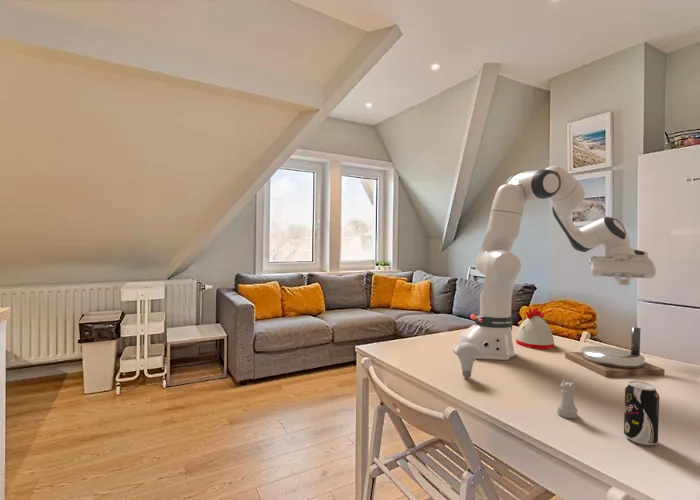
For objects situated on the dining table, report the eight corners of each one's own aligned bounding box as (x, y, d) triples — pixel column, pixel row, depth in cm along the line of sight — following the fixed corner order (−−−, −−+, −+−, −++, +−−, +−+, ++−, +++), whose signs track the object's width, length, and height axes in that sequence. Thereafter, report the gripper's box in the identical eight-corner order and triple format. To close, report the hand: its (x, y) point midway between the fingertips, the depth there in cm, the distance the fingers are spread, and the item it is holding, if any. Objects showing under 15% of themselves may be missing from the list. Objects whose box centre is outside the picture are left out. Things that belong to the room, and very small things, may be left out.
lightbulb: (477, 375, 116) (477, 340, 115) (477, 382, 110) (477, 346, 110) (456, 373, 118) (457, 338, 117) (455, 380, 112) (456, 344, 112)
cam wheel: (599, 367, 118) (600, 332, 118) (571, 350, 136) (572, 320, 135) (662, 369, 116) (663, 334, 116) (626, 352, 134) (627, 322, 134)
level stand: (605, 376, 116) (605, 369, 116) (565, 357, 135) (565, 351, 135) (664, 375, 117) (664, 368, 117) (616, 356, 136) (616, 350, 136)
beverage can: (616, 433, 81) (618, 379, 81) (641, 433, 82) (643, 379, 81) (638, 448, 76) (640, 390, 75) (665, 447, 76) (667, 389, 76)
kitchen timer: (509, 340, 157) (509, 305, 157) (536, 339, 160) (537, 304, 160) (532, 350, 144) (533, 311, 143) (562, 348, 147) (563, 310, 146)
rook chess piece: (552, 411, 92) (553, 379, 92) (569, 410, 92) (570, 378, 92) (564, 419, 88) (565, 386, 87) (582, 419, 88) (583, 385, 88)
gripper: (589, 251, 150) (592, 277, 141) (652, 252, 141) (660, 280, 133) (587, 261, 154) (590, 287, 146) (648, 263, 145) (656, 291, 137)
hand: (624, 284), depth 139 cm, fingers closed
